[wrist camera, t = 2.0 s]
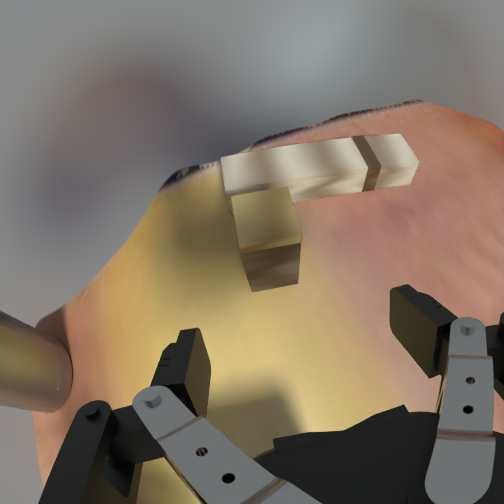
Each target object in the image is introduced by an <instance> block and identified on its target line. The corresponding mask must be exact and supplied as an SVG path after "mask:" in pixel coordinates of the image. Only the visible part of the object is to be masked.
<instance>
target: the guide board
mask: <svg viewBox="0 0 504 504" xmlns="http://www.w3.org/2000/svg"><path fill="white" fill-rule="evenodd" d="M418 164H419V161H418V159H417V158H416V156H415V155H414V153H413V152H412V150H411V149H410V147H409V146H408V144H407V143H406V141H405V140H404V138H403V137H402V135H401V134H389V135H375V136H354V137H351V138H343V139H334V140H325V141H317V142H310V143H302V144H295V145H289V146H282V147H276V148H270V149H264V150H258V151H252V152H247V153H242V154H236V155H231V156H226V157H222V158H221V165H222V172H223V179H224V186H225V192H226V196H227V200H228V203H229V207H230V211H231V214H234V212H233V206H232V200H231V196H236V195H241V194H246V193H252V192H257V191H262V190H268V189H273V188H279V187H285V186H288V188H289V192H290V195H291V198H292V201H293V203H294V202H300V201H306V200H312V199H318V198H323V197H330V196H336V195H342V194H348V193H355V192H361V191H362V192H363V191H370V190H374V189H381V188H388V187H395V186H402V185H410V183H411V181H412V179H413V176H414V174H415V171H416V169H417V167H418Z"/></svg>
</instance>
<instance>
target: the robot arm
mask: <svg viewBox="0 0 504 504" xmlns="http://www.w3.org/2000/svg"><path fill="white" fill-rule="evenodd" d="M390 327H391V330H392V333H393V334H394V336H395V337H396V338H397V339H398V340H399V342H400V343H401V344H402V345H403V347H404V348H405V349H406V350H407V351H408V353H409V354H410V355H411V356H412V358H413V359H414V360H415V361H416V363H417V364H418V365H419V366H420V368H421V369H422V370H423V371H424V373H425V374H426V375H427V376H428V378H429V379H430V378H432V377H435V376H437V375H441V376H442V377H441V382H440V387H439V392H438V398H437V403H436V408H435V412H434V413H433V412H408V410H407V409H406V407H405V405H401V406H398V407H396V408H393V409H390V410H387V411H384V412H381V413H378V414H375V415H373V416H371V417H369V418H367V419H366V420H364V421H362V422H360V423H358V424H356V425H354V426H352V427H350V428H348V429H346V430H343V431H330V432H307V433H302V434H297V435H292V436H286V437H281V438H275V439H273V442H274V448H273V449H271V450H268V451H266V452H264V453H262V454H260V455H258V456H256V457H255V458H253V459H252V458H250V457H249V456H248V455H247V454H246V453H244V452H243V451H242V450H241V449H240V448H238V447H237V446H236V445H235V444H234V443H232V442H231V441H230V440H229V439H228V438H227V437H226V436H224V435H223V434H222V433H221V432H220V431H219V430H218V429H217V428H215V427H214V426H213V425H212V424H211V423H210V422H209V421H208V420H207V419H206V414H207V405H208V396H209V387H210V378H211V365H210V360H209V356H208V353H207V350H206V347H205V344H204V341H203V337H202V334H201V331H200V329H199V328H192V329H186V330H181V331H180V333H179V336H178V339H177V342H176V343H170V344H169V345H168V346H167V347H166V348H165V349H164V350H163V352H162V355H161V358H160V361H159V363H158V367H157V368H156V371H155V374H154V377H153V379H152V382H151V385H150V387H148V388H145V389H143V390H142V391H140V392H139V393H138V394H137V395H136V396H135V397H134V399H133V402H132V405H130V406H127V407H123V408H119V409H115V410H112V409H111V407H110V405H109V404H108V403H107V402H105V401H101V400H97V401H92V402H89V403H87V404H85V405H84V406H82V407H81V408H80V409H79V410H78V412H77V414H76V416H75V418H74V420H73V422H72V424H71V426H70V429H69V431H68V433H67V435H66V437H65V440H64V442H63V444H62V446H61V449H60V451H59V453H58V456H57V458H56V460H55V463H54V465H53V467H52V470H51V472H50V475H49V477H48V480H47V482H46V485H45V487H44V490H43V493H42V495H41V498H40V501H39V503H38V504H136V500H137V494H138V488H139V482H140V477H141V471H142V466H143V462H146V461H150V460H154V459H158V458H162V457H164V458H165V459H166V461H167V462H168V463H169V465H170V466H171V467H172V468H173V470H174V471H175V472H176V474H177V475H178V476H179V477H180V478H181V480H182V481H183V482H184V483H185V485H186V486H187V487H188V488H189V489H190V491H191V492H192V493H193V494H194V495H195V497H196V498H197V499H198V500H199V501H200V503H201V504H504V434H502V433H499V432H495V431H493V413H494V389H495V390H496V392H497V393H498V394H499V395H500V396H501V398H502V399H503V400H504V312H503V313H502V314H501V316H500V321H499V324H498V325H492V326H486V327H485V326H484V324H483V323H482V322H481V321H480V320H478V319H475V318H471V317H462V318H458V317H457V316H455V315H454V314H453V313H452V312H450V311H449V310H448V309H447V308H445V307H444V306H442V305H441V304H440V303H439V302H437V301H436V300H435V299H434V298H433V297H431V296H430V295H427V294H424V293H421V292H417V291H416V290H415V289H414V288H412V287H411V286H410V285H408V284H406V285H402V286H398V287H395V288H392V289H391V290H390ZM71 385H72V365H71V361H70V357H69V355H68V352H67V350H66V348H65V347H64V345H63V344H62V343H61V342H60V341H59V340H58V339H56V338H54V337H53V336H50V335H48V334H46V333H44V332H42V331H40V330H37V329H35V328H33V327H32V326H29V325H28V324H25V323H23V322H21V321H20V320H17V319H16V318H13V317H12V316H10V315H8V314H6V313H4V312H2V311H1V310H0V405H2V406H8V407H13V408H18V409H24V410H31V411H38V412H47V413H49V412H54V411H55V410H57V409H59V408H60V407H61V406H62V405H63V404H64V403H65V401H66V399H67V398H68V395H69V393H70V389H71Z"/></svg>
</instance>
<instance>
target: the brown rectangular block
mask: <svg viewBox="0 0 504 504" xmlns="http://www.w3.org/2000/svg"><path fill="white" fill-rule="evenodd" d="M231 200H232V206H233V212H234V219H235V225H236V231H237V237H238V244H239V248H240V252H241V254H242V258H243V261H244V265H245V268H246V272H247V275H248V279H249V282H250V286H251V289H252V292H257V291H262V290H267V289H273V288H278V287H283V286H288V285H293V284H298V276H299V264H300V251H301V242H302V232H301V228H300V225H299V221H298V218H297V215H296V211H295V208H294V205H293V201H292V198H291V195H290V192H289V188H288V186H285V187H279V188H273V189H268V190H262V191H257V192H252V193H246V194H241V195H236V196H231Z"/></svg>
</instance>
